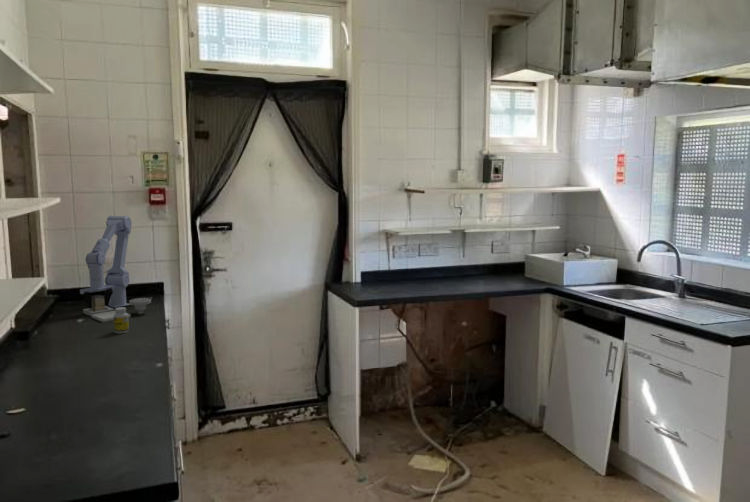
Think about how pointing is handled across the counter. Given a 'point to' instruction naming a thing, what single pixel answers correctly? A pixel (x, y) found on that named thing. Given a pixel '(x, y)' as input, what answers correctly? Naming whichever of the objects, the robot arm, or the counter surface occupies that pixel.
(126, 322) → the supplement bottle
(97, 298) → the peg
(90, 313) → the holder
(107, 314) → the tray
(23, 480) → the counter surface
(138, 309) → the showerhead
